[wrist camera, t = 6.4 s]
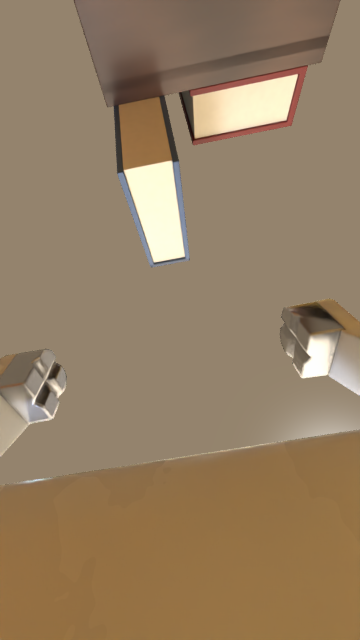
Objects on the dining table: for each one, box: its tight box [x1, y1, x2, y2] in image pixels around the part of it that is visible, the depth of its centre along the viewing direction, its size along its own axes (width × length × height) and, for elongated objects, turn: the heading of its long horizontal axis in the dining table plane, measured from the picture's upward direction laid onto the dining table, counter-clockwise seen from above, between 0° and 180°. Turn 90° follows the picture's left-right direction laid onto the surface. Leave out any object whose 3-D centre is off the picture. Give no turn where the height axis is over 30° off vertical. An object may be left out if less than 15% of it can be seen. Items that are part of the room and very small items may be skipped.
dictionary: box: [179, 65, 308, 145], centre depth 23 cm, size 9×12×4 cm
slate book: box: [114, 96, 190, 267], centre depth 24 cm, size 4×20×10 cm, turn 172°
